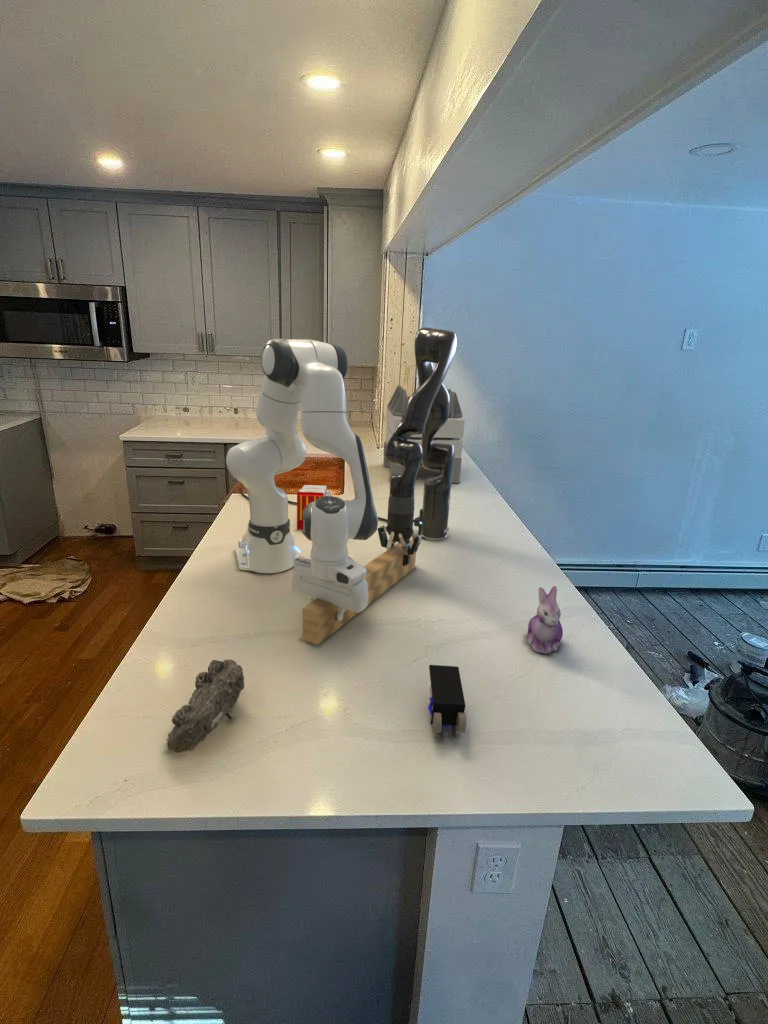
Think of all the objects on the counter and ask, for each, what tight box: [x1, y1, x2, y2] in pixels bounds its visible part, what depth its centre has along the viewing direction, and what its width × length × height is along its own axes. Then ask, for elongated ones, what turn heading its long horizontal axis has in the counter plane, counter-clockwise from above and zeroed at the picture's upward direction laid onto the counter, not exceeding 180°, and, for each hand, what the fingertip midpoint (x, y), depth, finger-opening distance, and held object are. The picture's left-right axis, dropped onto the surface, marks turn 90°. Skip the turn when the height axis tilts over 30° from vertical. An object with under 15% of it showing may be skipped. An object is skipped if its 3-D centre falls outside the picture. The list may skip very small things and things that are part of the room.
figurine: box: [526, 585, 564, 655], centre depth 134 cm, size 9×10×15 cm
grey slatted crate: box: [383, 384, 465, 484], centre depth 268 cm, size 34×33×41 cm
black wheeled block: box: [427, 664, 467, 738], centre depth 109 cm, size 7×8×15 cm
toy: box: [296, 484, 332, 531], centre depth 210 cm, size 12×13×30 cm
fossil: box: [166, 658, 245, 754], centre depth 106 cm, size 22×10×15 cm
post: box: [302, 540, 417, 646], centre depth 153 cm, size 51×4×8 cm, turn 151°
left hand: (328, 616), depth 139 cm, fingers closed on post, 4 cm apart
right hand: (398, 562), depth 168 cm, fingers closed on post, 4 cm apart
